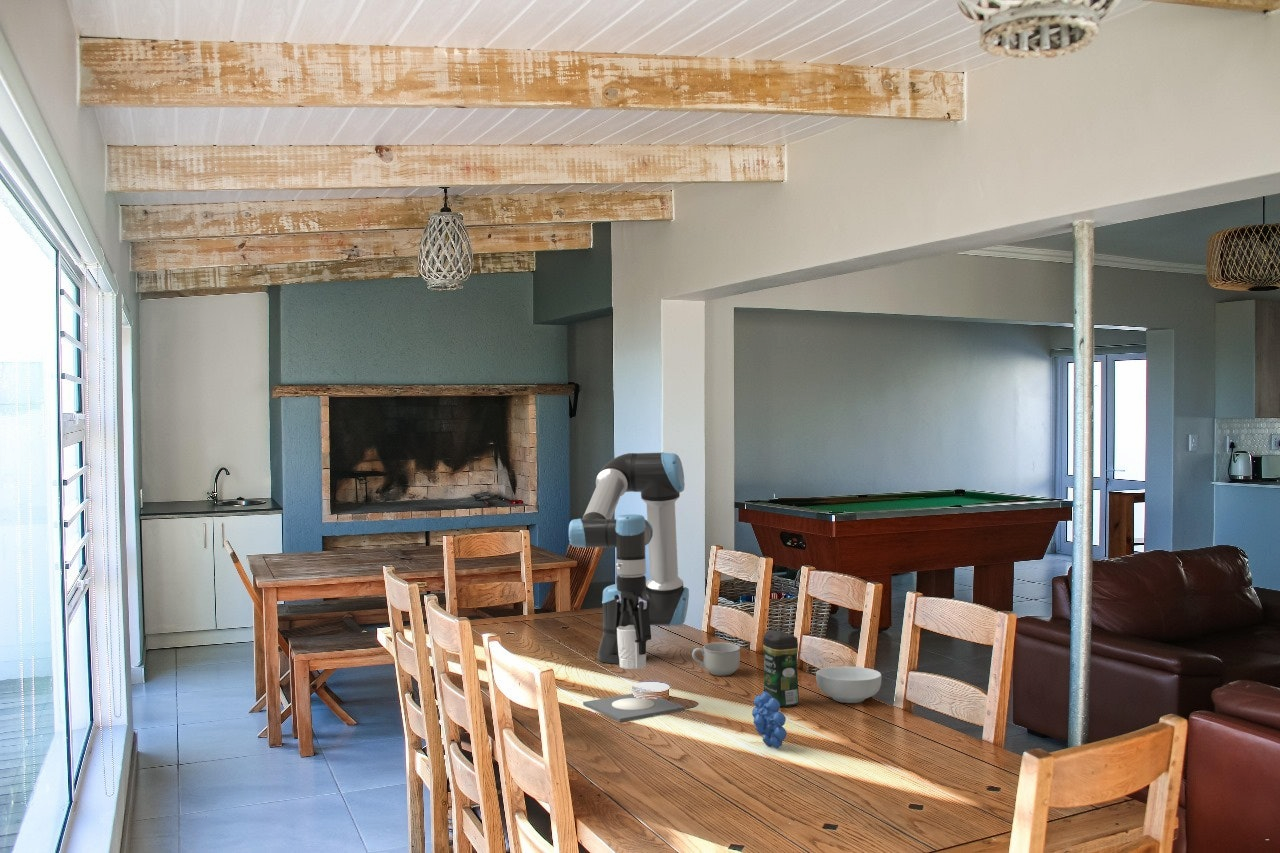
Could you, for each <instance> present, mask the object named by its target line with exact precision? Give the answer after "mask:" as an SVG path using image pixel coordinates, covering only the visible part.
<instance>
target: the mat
mask: <svg viewBox="0 0 1280 853" xmlns="http://www.w3.org/2000/svg"><path fill="white" fill-rule="evenodd" d="M582 706H584V707H586V708H589V709H591V710H593V711H595V712H598V713H600V714H601V715H604V716H606V717H608V718H610V719H612V720H615V721H617V722H618V723H621V722H628V721H629V722H630V721H633V720H638V719H639V720H640V719H643V718H649V717H655V716H660V715H665V714H671V713H676V712H682V711H685V706H683V705H681V704H678V703H675V702H673V701H670V700H667V699H666V698H663V697H661V698H657V699H642V698H636V697H634V695H633V693H628V694H621V695H616V696H612V697H605V698H598V699H593V700H587V701H583V702H582Z"/></svg>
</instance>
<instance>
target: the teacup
mask: <svg viewBox="0 0 1280 853" xmlns="http://www.w3.org/2000/svg"><path fill="white" fill-rule="evenodd" d="M740 650H741V646H740V645H738V644H735V643H731V642H724V641H722V642H720V641H719V642H718V641H717V642H709V643H706V644H704V645H703V648H702V647H696V648H694V649H693V650H692V653H691V657H692V659H693V660H694V662H696V663H697V664H699V665H701V667H702V669H703V668H704V669H706V670H707V671H708V672H709V673H710V674H711V675H714V676H719V677H720V676H721V677H724V676H726V675H727V676H731V675H732V674H734V673H735V672H736V671H737V670H738V669H739V667H740V660H741V659H740V658H741V656H740V654H741V653H740V652H741V651H740ZM697 652H699V653H701V655H702V657H703V661H702V660H700V659H698V658H697V657H696V654H697Z"/></svg>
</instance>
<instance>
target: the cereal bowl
mask: <svg viewBox="0 0 1280 853" xmlns="http://www.w3.org/2000/svg"><path fill="white" fill-rule="evenodd" d="M815 675H816V676H815V679H816V684H817V687H818V688H819V690H820V691H821V692H822V693H823V694H824V695H826V696H828V697H830V698H832V699H833V700H834V701H836V702H839V703H844V704H858V703H862V702H864V701H865V699H869V698H871V697H873V696H875V695H876V694H877V693H878V692H879V691H880V690H881V686H882V673H881V672H879V671H878V670H876V669H872V668H868V667H867V668H866V667H861V666H860V667H859V666H832V667H831V666H830V667H824V668H821V669H819V670H817V671H816V672H815Z"/></svg>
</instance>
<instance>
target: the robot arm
mask: <svg viewBox="0 0 1280 853" xmlns="http://www.w3.org/2000/svg"><path fill="white" fill-rule="evenodd" d="M681 460H682V459H681V458H680V456H679V455H678V454H677V453H673V452H672V453H670V452H668V453H667V452H664V451H663V452H637V453H635V452H628V453H623V454H621V455H618V456H616V457H614V458H612V459H611V460H610V461H609V462H607V463H606V464H605V465H604V466H603V467H601V469H600V470H599V472H598V474H597V476H596V478H595V489H594V491H593V493H592V496H591V498H590V501H589V503H588V505H587V507H586V510H585V512H584V514H583V515H582V518H576V519H575V518H574V519H571V521H570V522H569V523H568V540H569V544H570V545H571V546H572V547H574V548H583V549H586V548H616V564H615V566H616V574H617V575H618V576H617V577H616V583H615V584H610V585H608V586H606V587H604V588H603V590H602V601H601V603H602V636H601V639H600V640H601V641H600V643H599V646H598V650H597V660H598V661H599V662H602V663H608V664H613V665H614V664H617V665H620V664H619V655H618V641H617V627H619V626H623V627H626V626H628V625H634V628H635V631H636V637H637V640H635V667H636V668H639V667H644V668H645V667H647V659H648V658H647V652H646V641H647V642H648V641H650V640H652V630H651V626H654V627H655V626H656V627H659V626H660V627H661V626H663V627H675V626H679V627H680V626H682V625H684V623H685V621H686V619H687V614H688V606H689V598H690V589H689V588H688V587H687V586H685V587H684V581H683V579H681V577H679V571H678V570H679V568H678V565H679V564H678V548H677V545H678V544H677V526H676V525H677V524H676V523H677V522H676V521H677V520H676V518H677V517H676V502H677V500H678V499H679V498H680V496H681V494H680V493H682V492H684V490H685V475H684V474H685V473H684V467H683V463H682V461H681ZM630 492H631V493H640V497H641V498H640V499H641V500H642V501H643V502H644V503H645V504H646V516H647V517H646V518H647V519H645V516H644V515H641V514H620V515H617V517H616V519H613V516H614V513H615V510H616V508H617V505H618V503H619V500H620V498H621V497H622V496H623V495H624V494H625V493H630ZM647 545H648V560H649V561H648V562H649V579H648V580H647V577H646V575H645V574H646V573H647V563H646V562H647V560H646V558H647V557H646V546H647ZM640 636H641V637H640Z"/></svg>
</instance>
